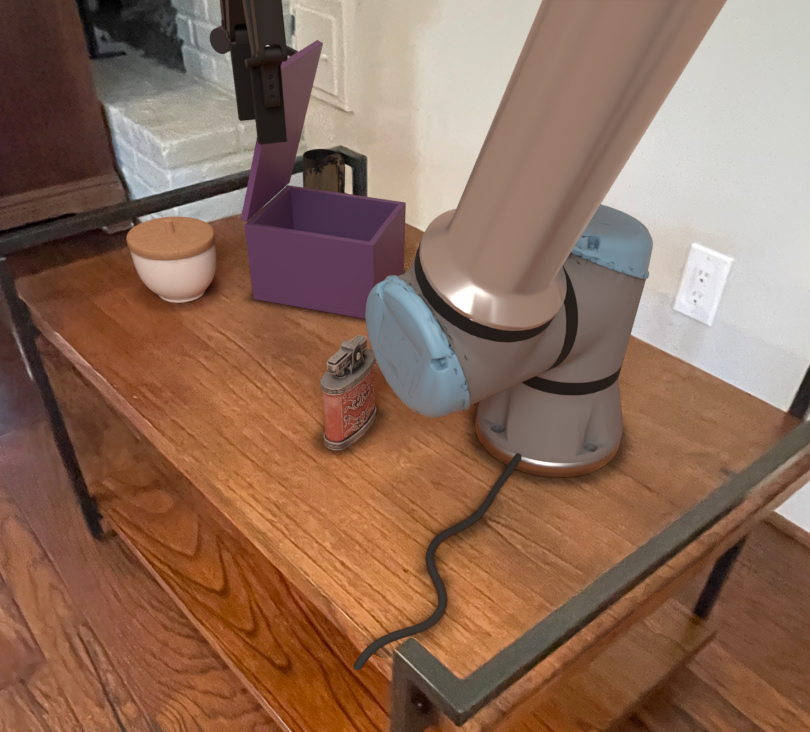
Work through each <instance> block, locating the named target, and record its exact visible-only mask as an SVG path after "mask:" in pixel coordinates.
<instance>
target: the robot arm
mask: <svg viewBox="0 0 810 732" xmlns="http://www.w3.org/2000/svg"><path fill="white" fill-rule="evenodd" d="M727 2H728V0H541V1H540V5H539V7H538V9H537V11H536V14H535V17H534V19H533V21H532V24H531V26H530V28H529V31H528V33H527V37H526V39H525V41H524V44H523V46H522V48H521V51H520V52H519V53H520V54H519V56H518V57H517V61H516V63H515V64H514V65H515V66H514V68H513V70H512V72H511V75H510V77H509V79H508V82H507V85H506V87H505V89H504V92H503V94H502V97H501V100H500V102H499V104H498V107H497V109H496V111H495V113H494V117H493V119H492V121H491V124H490V125H489V128H488V131H487V133H486V135H485V137H484V140H483V143H482V146H481V148H480V150H479V153H478V155H477V158H476V160H475V163H474V165H473V167H472V169H471V172H470V174H469V177H468V179H467V181H466V184H465V187H464V189H463V191H462V194H461V196H460V199H459V200H458V201H459V202H458V203H457V206H456V208H453V209H449V210H447V211H445V212H442V213H441V214H439V215H437V216H436V217H435V218H434V219H432V221H431V222H429V224H428V226H427V227H426V229H425V230H424V232H423V234H422V236H421V239H420V241H419V244H418V246H417V249H416V252H415V254H414V257H413V260H412V262H411V264H410V267H409V268H408V269H407V270H406V271H404V274H402V275H400V276H396V275H391V276H387V277H386V279H385V280H384V281H382V282H380V283H378V284H376V285H375V286H374V287H373V288H372V290H371V291H370V293H369V295H368V298H367V302H366V312H365V317H366V319H365V327H366V332H367V337H368V338H367V339H368V341H369V344H370V347H371V350H373V354H374V357H375V359H376V364H377V366H378V368H379V370H380V372H381V374H382V376H383V378H384V379H385V381H386V383H387V384H388V386H389V387H390V389H391V391H392V392H393V393H394V394H395V395H396V397H397V398H398V400H400V401H401V402H402V403H403V404H404V405H405V406H406V407H407V408H409V410H411V411H412V412H414V413H416V414H417V415H422V416H423V417H425V418H428V419H429V418H430V419H438V418H439V419H440V418H443V417H445V416H449V415H451V414H454V413H457V412H459V413H460V412H465V411H467V410H468V409H469V408H470V407H471V406H473V405H476V404H477V406H476V408H477V410H476V415H475V424H474V427H475V434H476V437H477V439H478V441H479V443H480V444H481V446H482V447H483V448H484V449H485V450H486V452H488V453H489V454H490V455H491V456H492V457H493V458H494V459H496V460H498V461H499V462H500V463H502V464H504V465H505V466H506V467H505V468H504V469H503V471H502V473H500V476H498V478H497V480H495V482H494V484H493V486H492V487H491V489H490V490H489V492H488V494H487V495H486V497H485V498H484V500H483V502H482V503H481V505H480V506H479V507H478V508H477V509H476V511H475V512H474V513H472V514H471V515H470V516H469V517H467V518H465V519H464V520H462V521H460V522H458V523H456V524H455V525H453V526H450V527H448V528H446V529H444V530H442V531H441V532H439V533H438V534H437V535H436V536H435V537H434V538H432V539H431V541H430V543H429V544H428V546H427V549H426V551H425V564H426V568H427V572H428V574H429V576H430V578H431V580H432V582H433V584H434V587H435V590H436V593H437V598H438V602H437V605H436V609H435V610H434V611H433V613H432V614H431V615H430V616H429V617H428V618H426V619H425V620H423V621H421V622H419V623H416V624H414V625H410V626H408V627H404V628H401V629H398V630H394V631H391V632H388V633H386V634H384V635H382V636H380V637H379V638H377V639H375V640H374V641H373V642H371V643H369V644H368V645H367V646H366V648H364V649H363V651H362V652H361V653H360V654H359V656H358V657H357V659H356V660H355V662H354V663H353V666H352V668H353V670H355V671H360V670H362V669H363V668H364V666H365V665H366V663H367V662H368V661H369V659H370V658H371V657H372V656H373V655H374V654H375V653H376V652H377V651H379V650H380V649H382V648H383V647H385V646H386V645H389V644H391V643H393V642H396V641H398V640H399V641H400V640H402V639H405V638H408V637H411V636H415V635H417V634H420V633H423V632H426V631H428V630H429V629H431V628H432V627H434V626H435V625H436V624H437V623H439V622H440V620H441V619H442V617H443V616H444V614H445V612H446V609H447V606H448V593H447V590H446V586H445V584H444V581H443V580H442V577H441V575H440V573H439V571H438V569H437V566H436V562H435V554H436V550H437V548H438V547H439V546H440V545H441V543H443V542H444V541H446V540H447V539H448V538H450V537H451V536H454V535H456V534H458V533H460V532H462V531H464V530H466V529H468V528H469V527H471V526H473V525H474V524H476V523H477V522H478V521H479V520H480V519H481V518H482V517H483V516H484V515H485V514H486V513H487V512H488V510H489V509H490V508H491V506H492V504H493V503H494V501H495V499H496V497H497V496H498V494H499V492H500V491H501V489H502V488H503V487H504V484H505V483H506V482H507V480H508V479H509V477H510V476H511V475H512V473H513V472H514V470H516V471H517V470H518V471H520V472H522V473H526V474H530V475H534V476H538V477H539V476H540V477H546V478H571V477H573V478H574V477H578V476H579V477H580V476H584V475H587V474H591V473H593V472H595V471H598V470H600V469H602V468H603V467H605V466H606V465H608V464H609V463H610V462H611V461H612V460H613V459H614V458H615V456H616V455H617V454H618V453H617V452H618V451H619V447H620V444H621V440H622V438H623V433H624V421H623V411H622V409H623V408H622V402H621V392H620V391H621V390H620V381H619V380H620V375H621V372H622V367H623V363H624V361H625V357H626V353H627V350H628V346H629V342H630V339H631V335H632V331H633V329H634V324H635V321H636V316H637V313H638V310H639V306H640V302H641V300H642V296H643V292H644V288H645V284H646V281H647V279H649V278H650V271H649V268H650V263H651V258H652V253H653V249H654V240H653V237H652V235H651V232H650V231H649V229H648V227H646V225H645V224H644V223H642V222H641V220H639V219H637V218H636V217H634V216H632V215H631V214H629V213H626V212H624V211H622V210H620V209H617V208H615V207H611V206H608V205H605V204H602V203H603V201H604V200H605V198H606V197H607V196H608V193H609V192H610V191H611V188H612V187H613V185H614V184H615V182H616V181H617V179H618V177H619V175H620V174H621V172H622V171H623V169H624V168H625V166H626V164H627V162H628V161H629V159H630V157H632V154H633V153H634V151H635V150H636V148H637V147H638V145H639V144H640V142H641V140H642V138H643V137H644V136H645V134H646V132H647V130H648V129H649V127H650V126H651V124H652V122H653V121H654V119H655V118H656V116H657V114H658V113H659V111H660V109H661V108H662V106H663V105H664V103H665V101H666V100H667V98H668V97H669V96H670V93H671V92H672V90H673V89H674V87H675V85H676V84H677V82H678V81H679V79H680V77H681V76H682V74H683V73H684V70H686V68H687V66H688V64H689V63H690V61H691V60H692V58H693V56H694V55H695V53H696V52H697V50H698V49H699V47H700V45H701V43H702V42H703V40H704V39H705V37H706V35H707V33H708V32H709V30H710V29H711V27H712V25H713V24H714V22H715V21H716V19H717V18H718V16H719V14H720V13H721V11H722V10H723V8H724V6H725V5H726V3H727ZM219 8H220V9H219V10H220V24H221V25H222V27H223V29H224V30H227V32H226V35H227V38H228V40H229V42H233V44H231V45H230V51H229V52H230V59H231V60H230V61H231V68H232V76H233V86H234V93H235V102H236V110H237V118H238V120H239V121H240V122H243V121H244V122H245V121H255V122H254V123H255V131H256V139H257V141H258V143H259V144H260V145H262V144H271V143H280V142H287V135H286V123H285V110H284V98H283V86H282V74H281V65H282V62H285V61H287V59H288V58H289V56H288V52H287V47H286V45H287V39H286V38H287V37H286V28H285V18H284V10H283V9H284V8H283V0H219ZM221 25H220V26H221ZM269 45H272V46H269Z"/></svg>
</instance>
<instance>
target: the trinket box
mask: <svg viewBox="0 0 810 732" xmlns="http://www.w3.org/2000/svg"><path fill="white" fill-rule="evenodd" d="M126 244H127V248H128V249H129V251H130V255H131V256H130V257H131V260H132V263H133V265H134V268H135V271H136V273H137V275H138V277H139V278H140V280H141V281H142V283H143V284H144V286H146V287H147V288H148V289H149V290H150V291H151V292H153V293H154V294H155V295H157V296H158V297H159V298H160V299H162V300H163V301H166V302H169V303H176V304H179V303H181V304H182V303H188V302H192V301H196V300H197V299H200V298H201V297H202V296H204V294H205V293H206V291H207V289H208V288H209V287H210V285H211V283H213V280H214V277H215V275H216V271H217V261H218V260H217V259H218V258H217V247H216V234H215V230H214V228H213V226H211V224H210V223H208V222H206V221H204V220H201V219H199V218H195V217H189V216H163V217H156V218H152V219H148V220H147V221H143V222H140V223H139V224H137V225H135V226H133V227H132V228H131V229H130V230H129V231H128V232H127V234H126Z"/></svg>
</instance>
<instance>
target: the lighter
mask: <svg viewBox="0 0 810 732" xmlns="http://www.w3.org/2000/svg"><path fill="white" fill-rule="evenodd" d="M367 337H368V336H365V335H362V334H357V335H355V336H354V337H353V338H352V339H351V340H348V339H344V340H343V341H342V342H341V344H340V347H339V350H338V351H336V352H335V353H334V354H333V355H331V357H329V358H328V359H327V360H326V371H325V372H324V374H323V375H322V376H321V377H320V380H319V387H320V390H321V392H322V403H323V406H322V407H323V419H324V433H323V444H324V446H325V447H326V448H327V449H329V450H333V451H342V450H345V449H347V448H348V447H350V446H351V445H352V444H354V443H355V442H357V441H358V440H359V439H361V437H363V436H364V435H365V433H366V432H367V431H368V430H369V428H370V427H371V426H372V425H373V424H374V421H375V419H376V418H377V407H376V405H375V366H376V364H377V362H376V359H375V357H374V354H373V350H372V348H371V349H370V348H367V347H368V338H367Z"/></svg>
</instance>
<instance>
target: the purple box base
mask: <svg viewBox="0 0 810 732" xmlns="http://www.w3.org/2000/svg"><path fill="white" fill-rule="evenodd" d="M406 208H407V202H406V201H398V200H393V199H386V198H385V199H384V198H378V197H372V196H364V195H357V194H352V193H338V192H331V191H324V190H317V189H311V188H304V187H303V186H296V185H290V184H288V185H287V186H285V187H284V188H283V189H282V190H281V191H280V192H279V193H278V194H277V195H276V196H275V197H273V198H272V199H271V200H270V201H269V202H268V203H267V204H266V205H265V206H264V207H263V208H261V209H260V210H259V211H258V212H257V213H256V214H255V215H254V216H253V217H252V218H251V219H249V220H248V221H247V222H245V224H244V226H243V227H244V235H245V242H246V250H247V258H248V267H249V274H250V282H251V290H252V298H253V300H256V301H262V302H268V303H273V304H279V305H285V306H290V307H296V308H301V309H307V310H312V311H318V312H324V313H328V314H329V313H330V314H335V315H341V316H348V317H351V318H352V317H353V318H357V319H363V320H366V317H365V312H366V302H367V298H368V295H369V293H370V291H371V290H372V288H373V287H374V286H375V285H376V284H378V283H380V282H382V281H384V280H385V279H386V277H387V276H391V275H396V276H400V275H402V274H404V273H405V247H406V246H405V245H406V243H405V242H406V241H405V240H406V214H407V213H406V212H407V211H406V210H407V209H406Z"/></svg>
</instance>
